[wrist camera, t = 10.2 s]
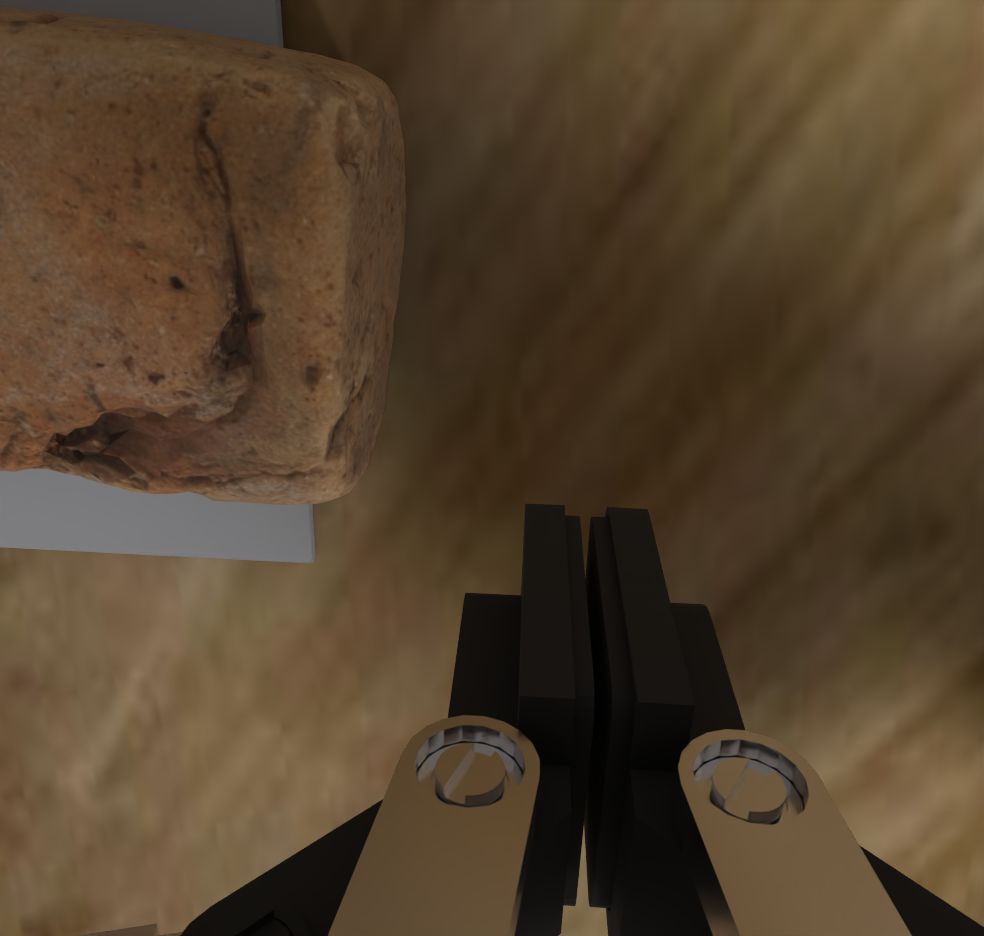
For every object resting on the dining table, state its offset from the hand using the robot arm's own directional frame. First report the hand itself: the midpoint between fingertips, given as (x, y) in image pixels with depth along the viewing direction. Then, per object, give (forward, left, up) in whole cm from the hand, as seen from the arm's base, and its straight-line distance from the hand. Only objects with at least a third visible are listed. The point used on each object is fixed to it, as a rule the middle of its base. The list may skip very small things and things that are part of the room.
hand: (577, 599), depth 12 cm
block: (+4, -1, -10) cm, 11 cm away
